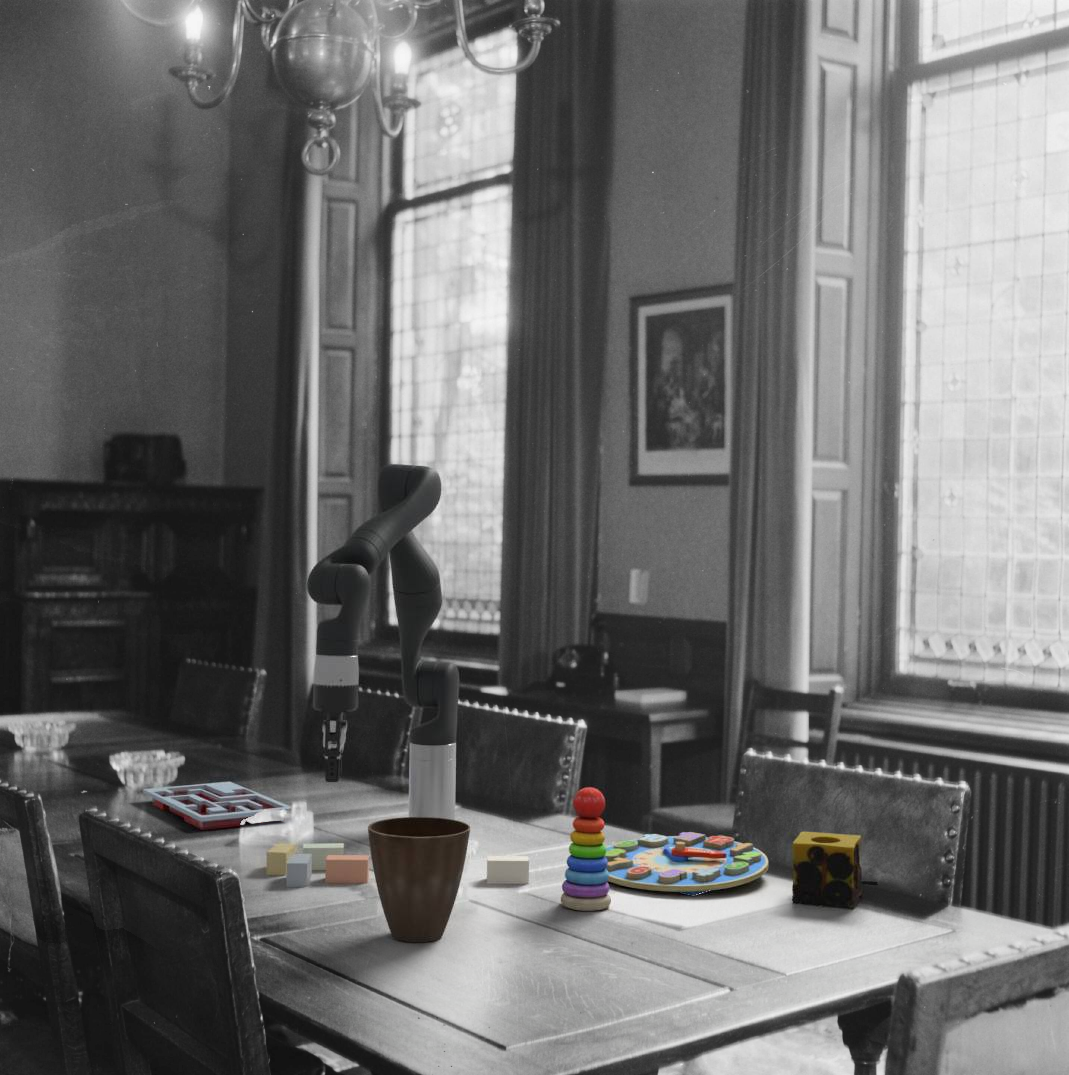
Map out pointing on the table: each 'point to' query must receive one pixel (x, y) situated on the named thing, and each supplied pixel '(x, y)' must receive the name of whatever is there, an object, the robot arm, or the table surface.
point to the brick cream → (507, 870)
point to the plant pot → (418, 873)
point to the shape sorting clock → (684, 863)
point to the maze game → (212, 803)
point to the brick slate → (299, 870)
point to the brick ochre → (279, 858)
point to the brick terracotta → (347, 869)
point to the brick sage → (322, 853)
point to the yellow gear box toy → (827, 869)
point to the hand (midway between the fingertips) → (333, 778)
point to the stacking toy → (587, 856)
